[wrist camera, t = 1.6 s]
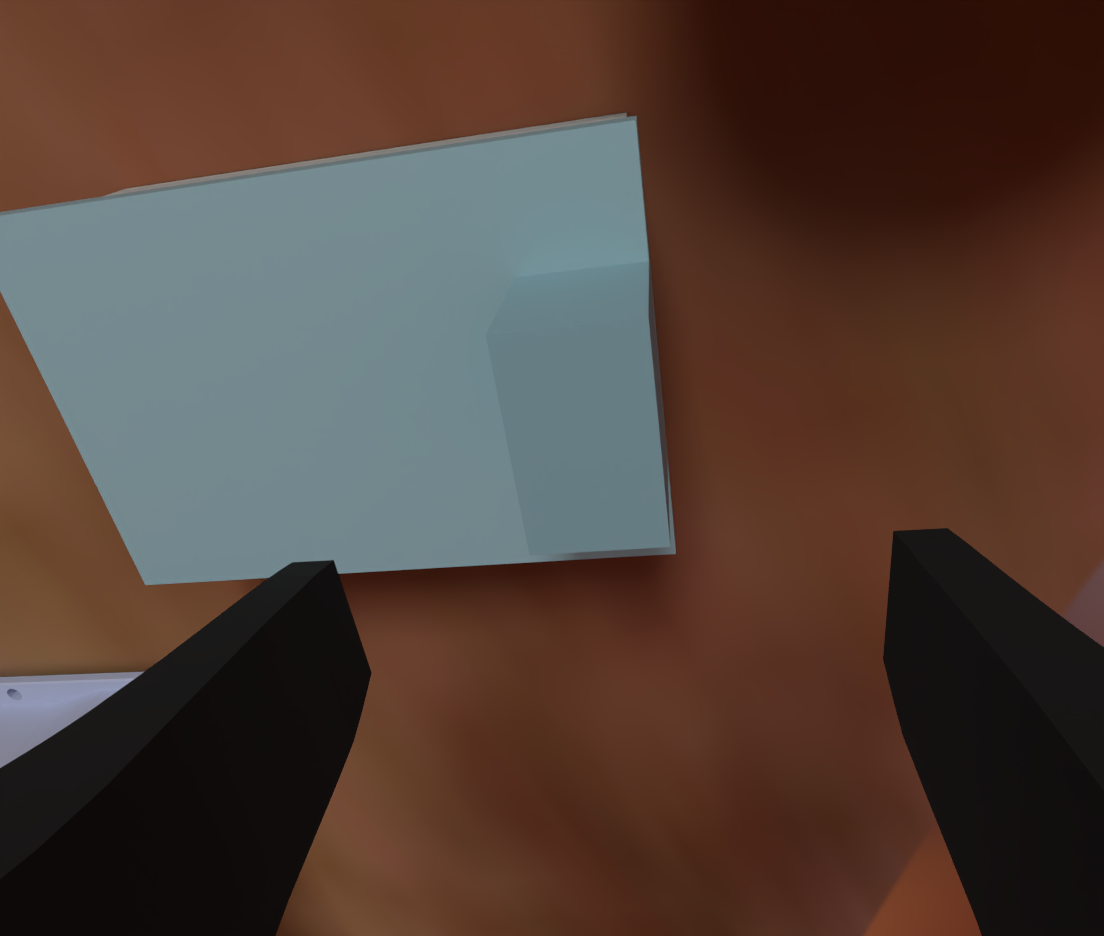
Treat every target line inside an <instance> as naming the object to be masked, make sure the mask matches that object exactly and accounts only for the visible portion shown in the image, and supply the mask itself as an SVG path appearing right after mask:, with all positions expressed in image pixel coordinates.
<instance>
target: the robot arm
mask: <svg viewBox="0 0 1104 936" xmlns="http://www.w3.org/2000/svg"><path fill="white" fill-rule="evenodd" d="M883 660H884V664H885V668H886V672H887V676H888V680H889V684H890V688H891V692H892V696H893V700H894V704H895V708H896V712H897V715H898V719H899V723H900V726H901V730H902V734H903V737H904V739H905V742H906V744H907V747H908V750H909V752H910V755H911V757H912V760H913V762H914V765H915V768H916V770H917V773H918V775H919V778H920V780H921V783H922V785H923V788H924V790H925V793H926V795H927V798H928V800H929V803H930V805H931V808H932V810H933V813H934V815H935V818H936V820H937V823H938V825H939V828H940V830H941V833H942V835H943V838H944V840H945V843H946V845H947V847H948V850H949V852H950V855H951V858H952V860H953V863H954V865H955V868H956V870H957V873H958V875H959V877H960V880H961V882H962V885H963V888H964V890H965V893H966V895H967V897H968V900H969V903H970V905H971V907H972V910H973V913H974V915H975V918H976V920H977V923H978V926H979V929H980V932H981V935H982V936H1104V647H1103V646H1101V645H1099V644H1098V643H1097V642H1095V641H1094V640H1093V639H1091V638H1090V637H1089V636H1087V635H1086V634H1084V633H1083V632H1082V631H1080V630H1079V629H1077V628H1076V627H1075V626H1073V625H1072V624H1071V623H1069V622H1068V621H1067V620H1065V619H1064V618H1063V617H1061V616H1060V615H1059V614H1057V613H1056V612H1055V611H1053V610H1052V609H1051V608H1049V607H1048V606H1047V605H1045V604H1044V603H1043V602H1041V601H1040V600H1039V599H1038V598H1036V597H1035V596H1034V595H1032V594H1031V593H1030V592H1028V591H1027V590H1026V589H1025V588H1023V587H1022V586H1021V585H1020V584H1018V583H1017V582H1016V581H1014V580H1013V579H1012V578H1011V577H1009V576H1008V575H1007V574H1005V573H1004V572H1003V571H1002V570H1000V569H999V568H998V567H997V566H995V565H994V564H993V563H992V562H990V561H989V560H988V559H986V558H985V557H984V556H983V555H981V554H980V553H979V552H978V551H976V550H975V549H974V548H973V547H971V546H970V545H969V544H968V543H966V542H965V541H964V540H962V539H961V538H960V537H958V536H957V535H956V534H954V533H953V532H952V531H950V530H949V529H948V528H943V529H924V530H905V531H893V543H892V556H891V568H890V581H889V593H888V606H887V618H886V631H885V643H884V655H883ZM370 677H371V670H370V667H369V664H368V661H367V658H366V655H365V652H364V649H363V646H362V643H361V640H360V637H359V634H358V631H357V628H356V625H355V622H354V619H353V616H352V613H351V610H350V607H349V604H348V601H347V598H346V595H345V592H344V589H343V586H342V583H341V580H340V577H339V574H338V571H337V568H336V565H335V562H334V560H326V561H307V562H292V563H290V564H289V565H287V566H286V567H284V568H283V569H281V570H279V571H278V572H277V573H275V574H274V575H272V576H271V577H269V578H268V579H267V580H265V581H264V582H263V583H261V584H260V585H258V586H257V587H256V588H254V589H253V590H252V591H250V592H249V593H248V594H246V595H245V596H244V597H243V598H241V599H240V600H239V601H237V602H236V603H235V604H233V605H232V606H231V607H229V608H228V609H227V610H226V611H224V612H223V613H222V614H220V615H219V616H218V617H217V618H215V619H214V620H213V621H211V622H210V623H209V624H207V625H206V626H205V627H203V628H202V629H201V630H200V631H198V632H197V633H196V634H194V635H193V636H192V637H190V638H189V639H188V640H186V641H185V642H184V643H182V644H181V645H180V646H179V647H177V648H176V649H175V650H173V651H172V652H171V653H169V654H168V655H167V656H165V657H164V658H163V659H161V660H160V661H159V662H157V663H156V664H155V665H153V666H152V667H150V668H149V669H148V670H146V671H145V672H123V673H97V674H71V675H45V676H19V677H0V936H275V935H276V932H277V930H278V927H279V924H280V922H281V919H282V916H283V913H284V911H285V908H286V905H287V903H288V900H289V898H290V895H291V893H292V890H293V888H294V886H295V883H296V881H297V878H298V876H299V873H300V871H301V869H302V866H303V864H304V861H305V859H306V857H307V854H308V852H309V849H310V847H311V845H312V842H313V840H314V837H315V835H316V833H317V830H318V828H319V825H320V823H321V821H322V818H323V816H324V813H325V811H326V809H327V806H328V804H329V801H330V799H331V797H332V794H333V792H334V789H335V787H336V784H337V782H338V779H339V777H340V774H341V772H342V769H343V767H344V764H345V762H346V760H347V757H348V754H349V752H350V749H351V747H352V744H353V742H354V738H355V735H356V731H357V727H358V724H359V720H360V717H361V713H362V709H363V705H364V701H365V697H366V693H367V689H368V685H369V681H370Z"/></svg>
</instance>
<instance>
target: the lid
mask: <svg viewBox="0 0 1104 936" xmlns="http://www.w3.org/2000/svg"><path fill="white" fill-rule="evenodd" d="M0 291H1V293H2V296H3V298H4V300H5V302H6V304H7V306H8V308H9V310H10V312H11V314H12V316H13V318H14V320H15V322H16V324H17V326H18V328H19V330H20V332H21V334H22V336H23V338H24V340H25V342H26V344H27V346H28V348H29V350H30V352H31V354H32V356H33V358H34V360H35V362H36V364H37V366H38V368H39V370H40V373H41V375H42V377H43V379H44V381H45V383H46V385H47V387H48V389H49V391H50V393H51V395H52V397H53V399H54V401H55V403H56V405H57V407H58V409H59V411H60V413H61V415H62V417H63V419H64V421H65V423H66V425H67V427H68V429H69V431H70V433H71V435H72V437H73V439H74V441H75V443H76V445H77V447H78V450H79V452H80V454H81V456H82V458H83V460H84V462H85V464H86V466H87V468H88V470H89V472H90V474H91V476H92V478H93V480H94V482H95V484H96V486H97V488H98V490H99V492H100V494H101V496H102V498H103V500H104V502H105V504H106V506H107V508H108V510H109V512H110V514H111V516H112V518H113V520H114V522H115V524H116V526H117V529H118V531H119V533H120V535H121V537H122V539H123V541H124V543H125V545H126V547H127V549H128V551H129V553H130V555H131V557H132V559H133V561H134V563H135V565H136V567H137V569H138V571H139V573H140V575H141V577H142V579H143V581H144V583H145V585H155V584H172V583H189V582H206V581H223V580H240V579H257V578H269V577H271V576H272V575H274V574H275V573H277V572H278V571H279V570H281V569H283V568H284V567H286V566H287V565H289V564H290V563H292V562H307V561H326V560H334V562H335V565H336V568H337V571H338V574H342V573H359V572H376V571H393V570H410V569H427V568H444V567H461V566H478V565H495V564H512V563H529V562H546V561H563V560H580V559H597V558H614V557H631V556H648V555H665V554H676V543H675V529H674V519H673V508H672V497H671V486H670V475H669V464H668V453H667V442H666V431H665V420H664V409H663V398H662V387H661V376H660V365H659V355H658V344H657V333H656V322H655V311H654V300H653V289H652V278H651V267H650V256H649V245H648V234H647V223H646V212H645V201H644V191H643V180H642V169H641V158H640V147H639V136H638V125H637V116H632V117H625V118H618V119H612V120H605V121H599V122H592V123H585V124H579V125H572V126H566V127H559V128H552V129H546V130H539V131H533V132H526V133H519V134H513V135H506V136H500V137H493V138H486V139H480V140H473V141H467V142H460V143H453V144H447V145H440V146H434V147H427V148H420V149H414V150H407V151H401V152H394V153H387V154H381V155H374V156H368V157H361V158H354V159H348V160H341V161H335V162H328V163H321V164H315V165H308V166H302V167H295V168H288V169H282V170H275V171H269V172H262V173H255V174H249V175H242V176H236V177H229V178H222V179H216V180H209V181H203V182H196V183H189V184H183V185H176V186H170V187H163V188H156V189H150V190H143V191H137V192H130V193H123V194H117V195H110V196H104V197H97V198H90V199H84V200H77V201H71V202H64V203H57V204H51V205H44V206H38V207H31V208H24V209H18V210H11V211H5V212H0Z"/></svg>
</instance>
